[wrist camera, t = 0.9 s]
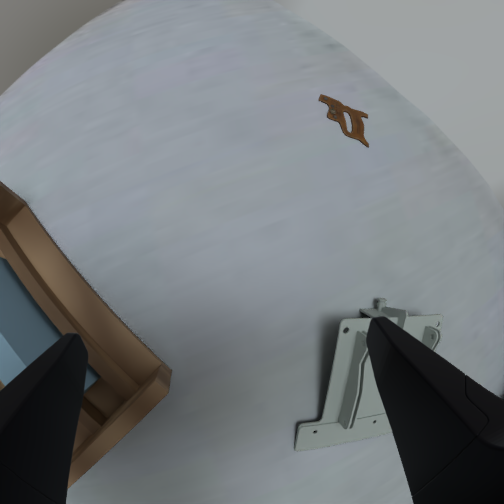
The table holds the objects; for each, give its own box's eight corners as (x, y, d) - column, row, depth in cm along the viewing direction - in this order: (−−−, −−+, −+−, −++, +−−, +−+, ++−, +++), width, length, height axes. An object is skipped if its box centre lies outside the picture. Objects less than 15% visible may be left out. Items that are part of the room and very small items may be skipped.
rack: (59, 480, 19) (33, 519, 12) (-67, 321, 18) (-112, 320, 12) (171, 370, 23) (168, 393, 16) (25, 201, 23) (-13, 170, 16)
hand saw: (142, 76, 27) (142, 72, 27) (161, 47, 28) (161, 43, 28) (366, 152, 31) (369, 149, 30) (370, 119, 32) (373, 116, 31)
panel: (87, 391, 20) (43, 429, 12) (-5, 276, 20) (-71, 260, 11) (102, 375, 21) (63, 408, 12) (9, 260, 21) (-55, 236, 12)
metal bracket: (329, 315, 21) (471, 309, 24) (300, 295, 26) (432, 295, 30) (298, 472, 22) (431, 439, 25) (280, 434, 28) (402, 414, 31)
